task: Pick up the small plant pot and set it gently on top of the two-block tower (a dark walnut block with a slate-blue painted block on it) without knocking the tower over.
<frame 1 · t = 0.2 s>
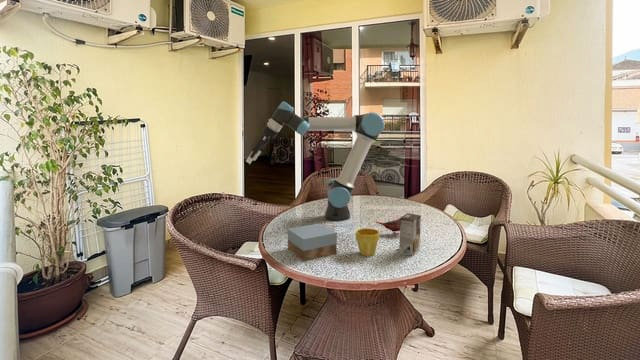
hand: (250, 161, 186), 36 cm above the table, tool tilted 35°, fingers open, 13 cm apart
coffee box: (409, 252, 152), on the table
tower base: (311, 252, 154), on the table
tower top: (311, 241, 153), point 5 cm above the table
decorative bird figurine: (392, 234, 175), on the table
plant pot: (367, 253, 151), on the table
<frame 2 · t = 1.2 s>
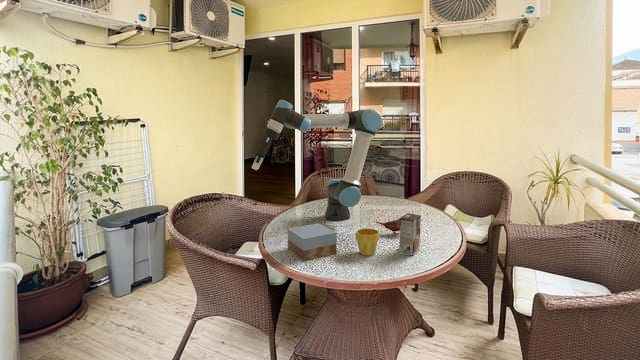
hand: (254, 168, 171), 34 cm above the table, tool tilted 30°, fingers open, 13 cm apart
nothing on the table moved.
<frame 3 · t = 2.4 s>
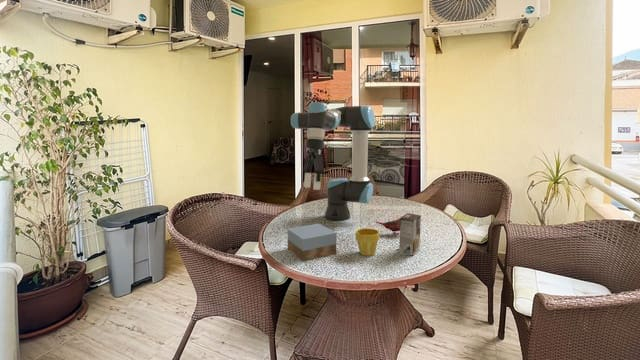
hand: (311, 188, 148), 28 cm above the table, tool pointing down, fingers open, 13 cm apart
tower base: (311, 252, 154), on the table, touching tower top
tower top: (311, 241, 153), point 4 cm above the table, touching tower base
everything else where it was.
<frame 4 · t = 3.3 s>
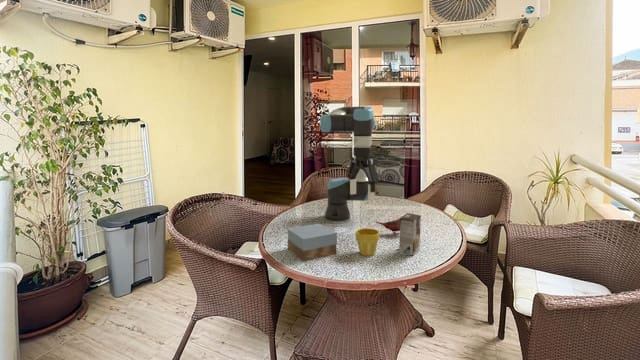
hand: (361, 196, 146), 25 cm above the table, tool pointing down, fingers open, 13 cm apart
nothing on the table moved.
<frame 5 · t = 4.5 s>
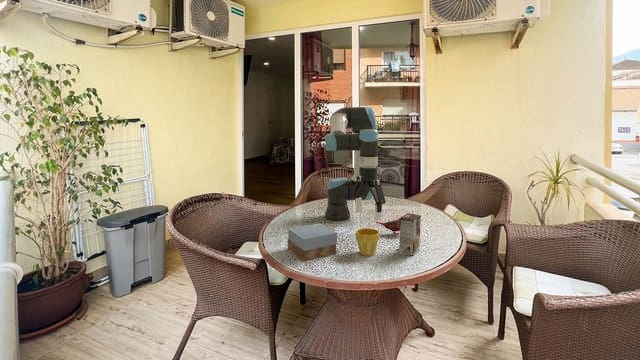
hand: (367, 215, 148), 17 cm above the table, tool pointing down, fingers open, 13 cm apart
nothing on the table moved.
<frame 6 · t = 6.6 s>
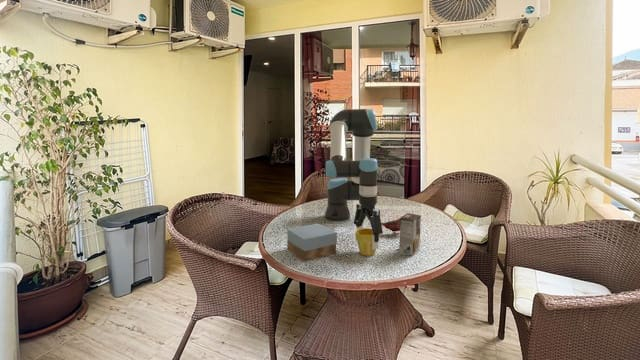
hand: (367, 244, 150), 4 cm above the table, tool pointing down, fingers closed on plant pot, 10 cm apart
tower base: (311, 252, 153), on the table
tower top: (311, 241, 153), point 4 cm above the table
plant pot: (367, 253, 151), on the table, touching gripper
everything else where it was.
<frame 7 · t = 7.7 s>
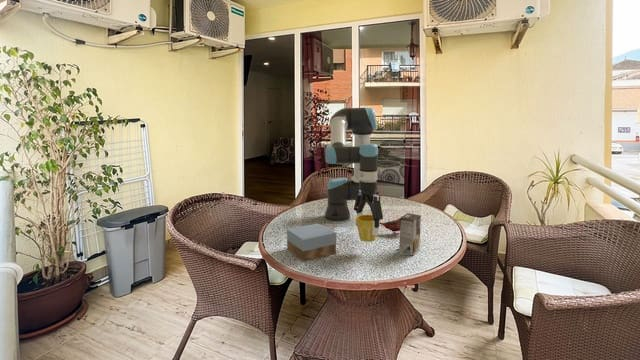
hand: (367, 230, 150), 10 cm above the table, tool pointing down, fingers closed on plant pot, 10 cm apart
tower base: (311, 252, 154), on the table, touching tower top
tower top: (311, 241, 152), point 4 cm above the table, touching tower base
plant pot: (367, 239, 150), point 6 cm above the table, touching gripper
everything else where it was.
when the fingers open (14 cm above the table, at t = 13.5 s): plant pot drops 1 cm, resting on tower top.
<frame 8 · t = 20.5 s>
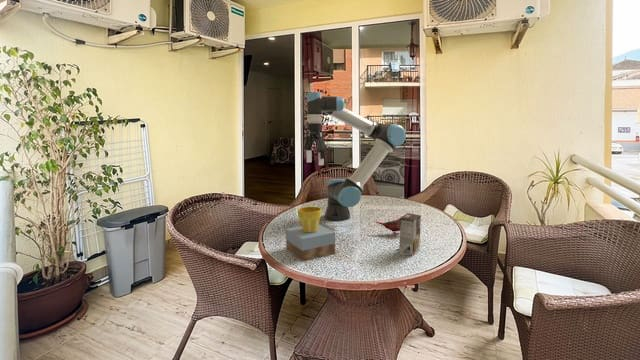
hand: (315, 163, 182), 35 cm above the table, tool pointing down, fingers open, 13 cm apart
tower base: (310, 252, 154), on the table
tower top: (310, 241, 153), point 5 cm above the table, touching plant pot
plant pot: (309, 230, 152), point 9 cm above the table, touching tower top
everything else where it was.
at the end: plant pot inside the target area on the tower base (0.2 cm from its centre), point 9.8 cm above the tower base's base; tower top 0.1 cm off-centre on the tower base, point 5.0 cm above the tower base's base; the gripper is holding nothing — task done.
